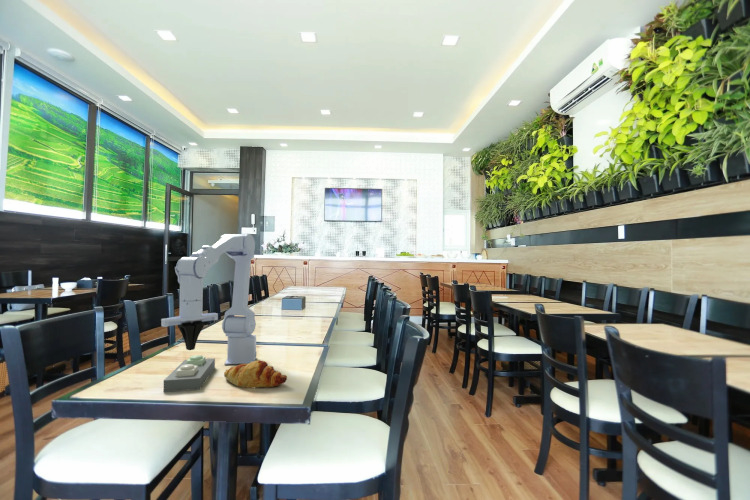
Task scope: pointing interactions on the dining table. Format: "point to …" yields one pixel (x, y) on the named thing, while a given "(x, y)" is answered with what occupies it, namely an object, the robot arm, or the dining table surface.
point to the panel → (189, 377)
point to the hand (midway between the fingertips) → (190, 349)
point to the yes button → (196, 360)
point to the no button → (187, 370)
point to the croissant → (254, 375)
